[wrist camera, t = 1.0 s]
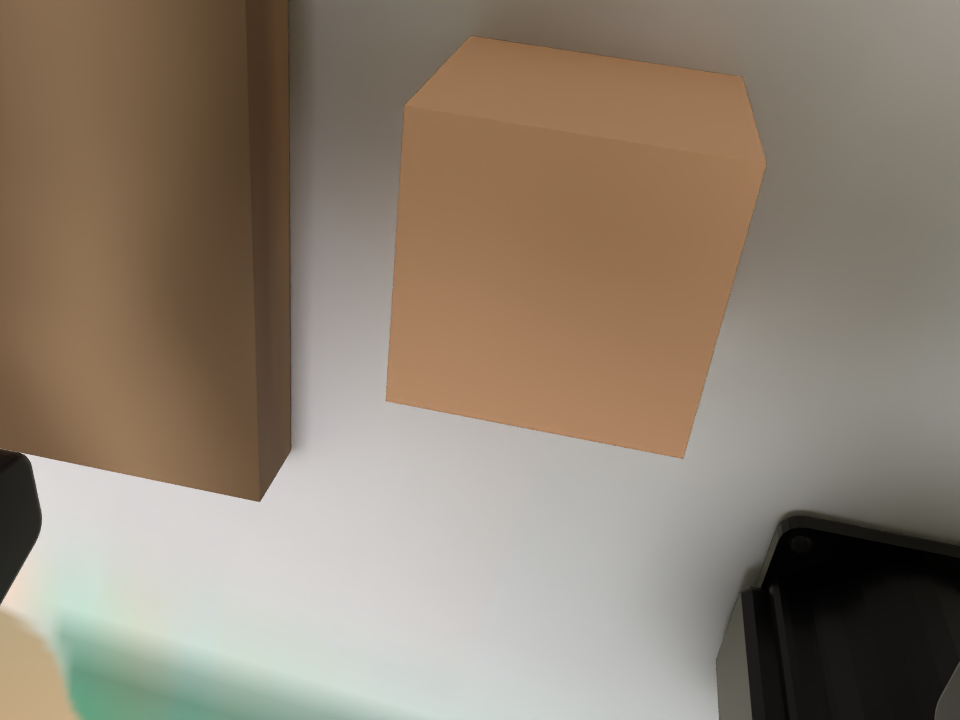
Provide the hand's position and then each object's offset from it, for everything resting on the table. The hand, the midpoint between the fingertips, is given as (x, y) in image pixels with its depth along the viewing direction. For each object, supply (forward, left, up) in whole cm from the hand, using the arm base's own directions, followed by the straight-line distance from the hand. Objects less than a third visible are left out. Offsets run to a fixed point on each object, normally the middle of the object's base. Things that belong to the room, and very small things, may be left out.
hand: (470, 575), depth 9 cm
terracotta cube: (0, 0, -11) cm, 11 cm away
